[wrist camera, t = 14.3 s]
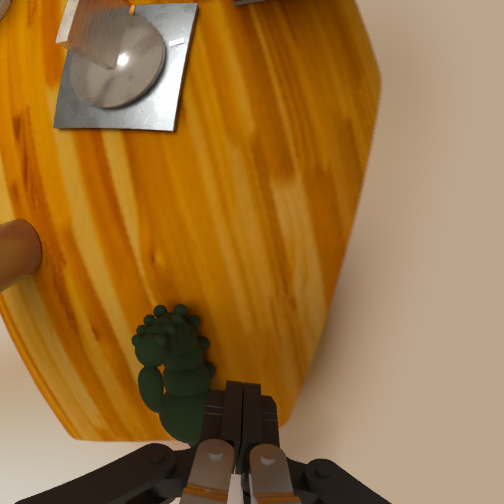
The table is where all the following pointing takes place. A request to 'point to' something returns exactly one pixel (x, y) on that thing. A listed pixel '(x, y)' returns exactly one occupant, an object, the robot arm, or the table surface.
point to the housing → (160, 93)
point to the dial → (110, 51)
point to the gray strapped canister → (4, 7)
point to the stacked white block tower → (245, 1)
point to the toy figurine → (174, 371)
